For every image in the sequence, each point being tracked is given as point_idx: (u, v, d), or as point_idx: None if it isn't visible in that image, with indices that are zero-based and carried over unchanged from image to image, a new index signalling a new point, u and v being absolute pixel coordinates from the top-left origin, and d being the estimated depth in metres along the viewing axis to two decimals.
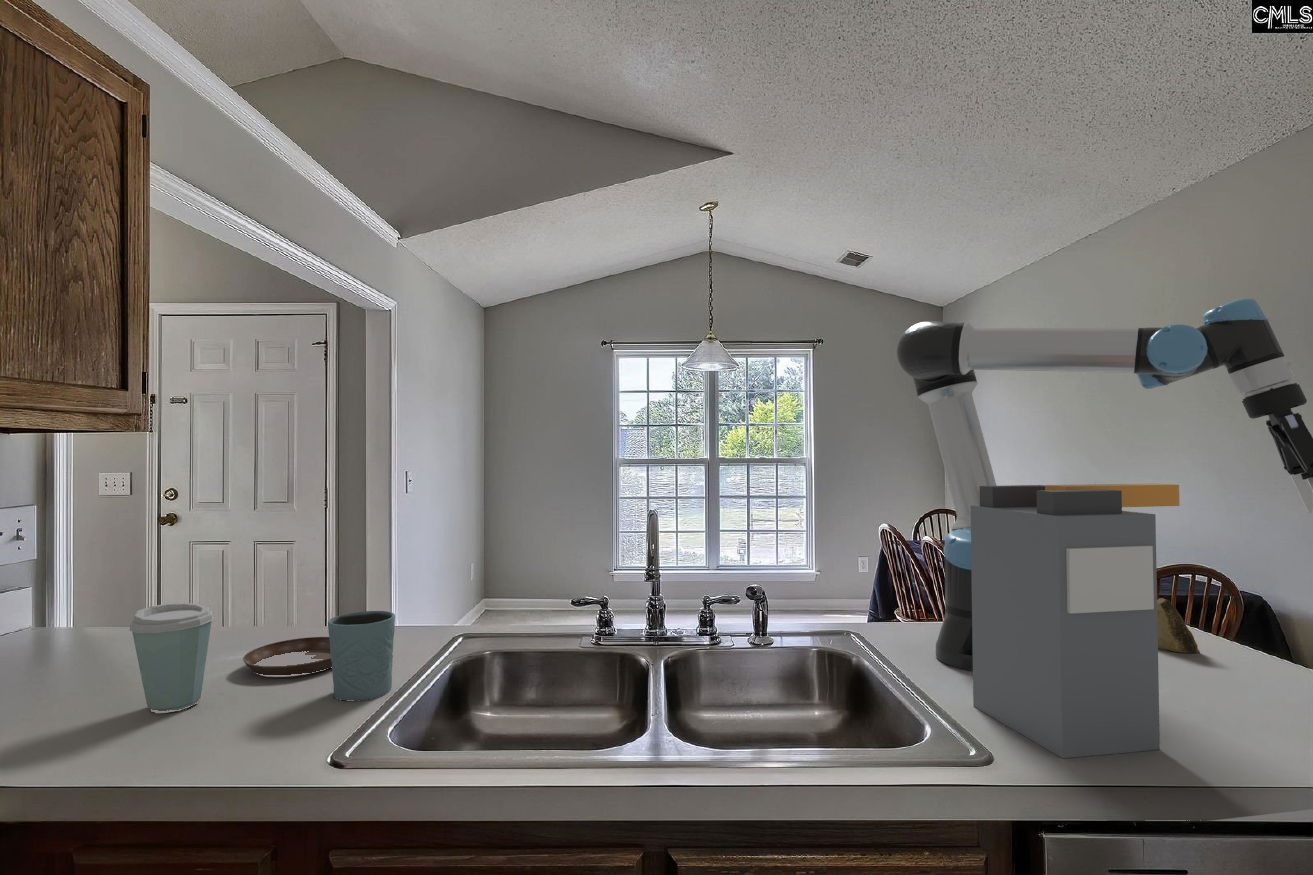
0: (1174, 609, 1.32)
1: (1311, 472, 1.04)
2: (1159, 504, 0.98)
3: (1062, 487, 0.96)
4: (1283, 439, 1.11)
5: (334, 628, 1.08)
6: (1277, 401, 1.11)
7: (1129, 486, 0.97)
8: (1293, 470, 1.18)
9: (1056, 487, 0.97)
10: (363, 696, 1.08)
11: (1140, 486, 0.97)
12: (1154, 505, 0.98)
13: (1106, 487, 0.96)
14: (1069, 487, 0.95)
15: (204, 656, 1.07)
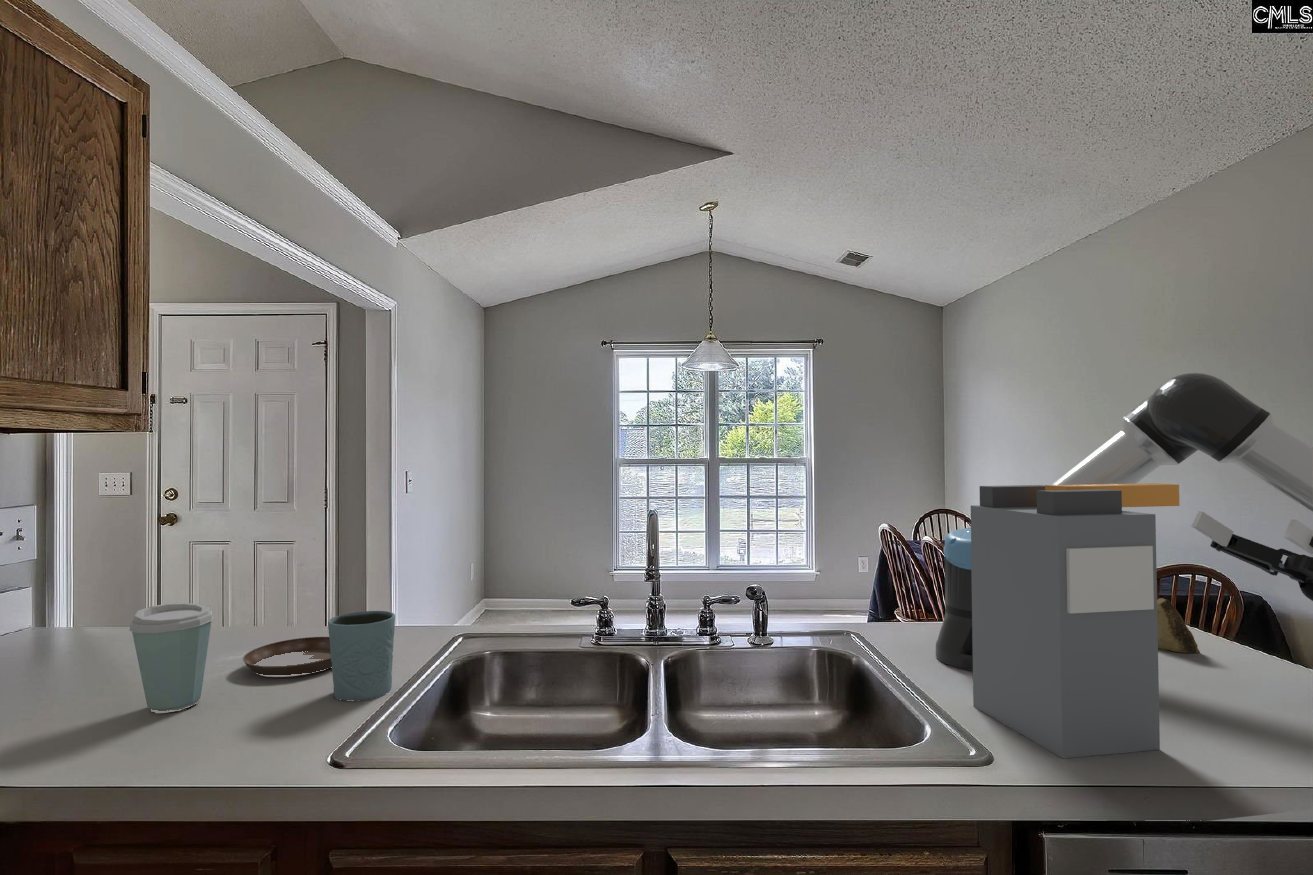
0: (1174, 609, 1.32)
1: None
2: (1159, 504, 0.98)
3: (1062, 487, 0.96)
4: None
5: (334, 628, 1.08)
6: None
7: (1129, 486, 0.97)
8: (1231, 537, 1.10)
9: (1056, 487, 0.97)
10: (363, 696, 1.08)
11: (1140, 486, 0.97)
12: (1154, 505, 0.98)
13: (1106, 487, 0.96)
14: (1069, 487, 0.95)
15: (204, 656, 1.07)
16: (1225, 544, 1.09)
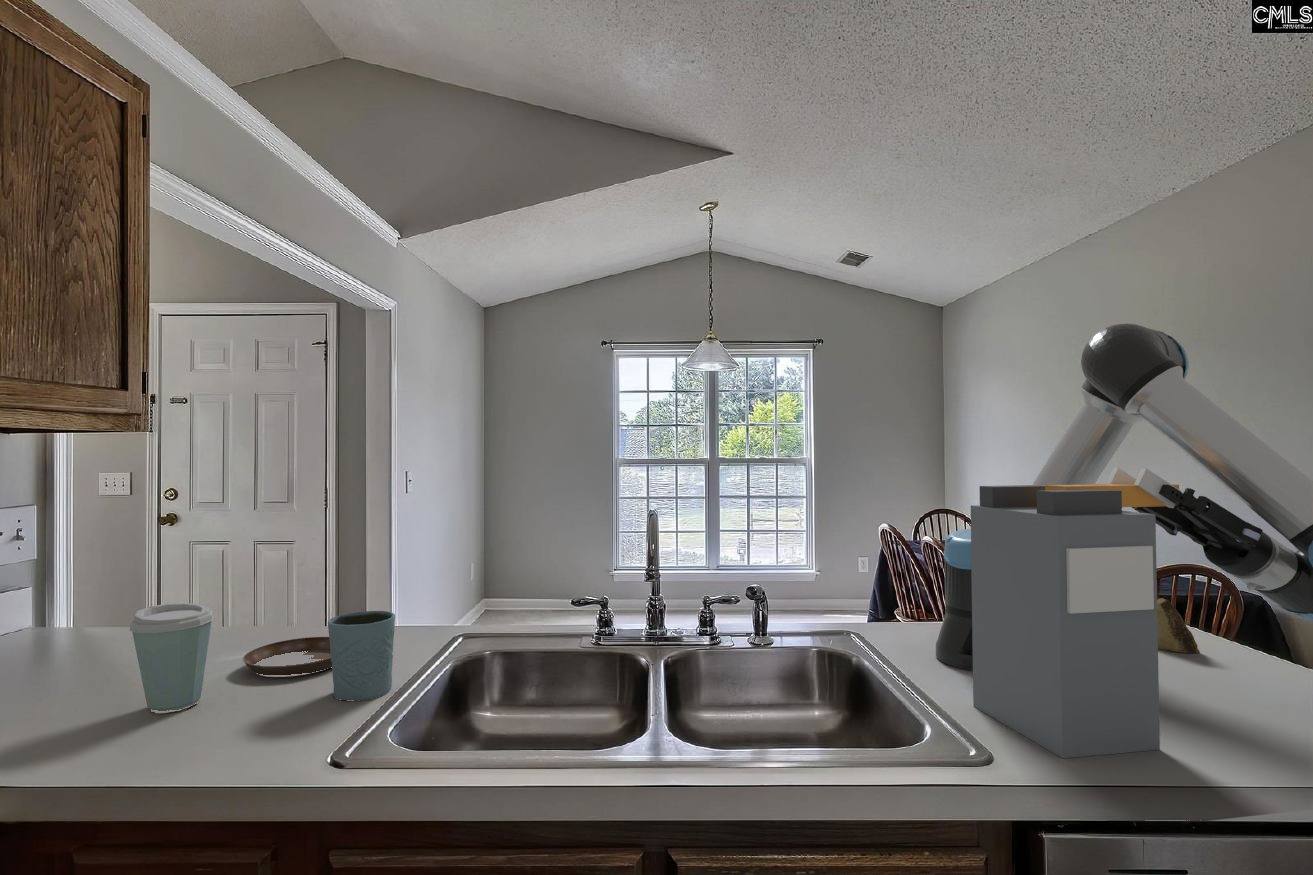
0: (1174, 609, 1.32)
1: (1202, 497, 0.95)
2: (1159, 504, 0.98)
3: (1062, 487, 0.96)
4: None
5: (334, 628, 1.08)
6: (1262, 549, 0.99)
7: (1129, 486, 0.97)
8: None
9: (1056, 487, 0.97)
10: (363, 696, 1.08)
11: None
12: (1154, 505, 0.98)
13: (1106, 487, 0.96)
14: (1069, 487, 0.95)
15: (205, 656, 1.07)
16: None
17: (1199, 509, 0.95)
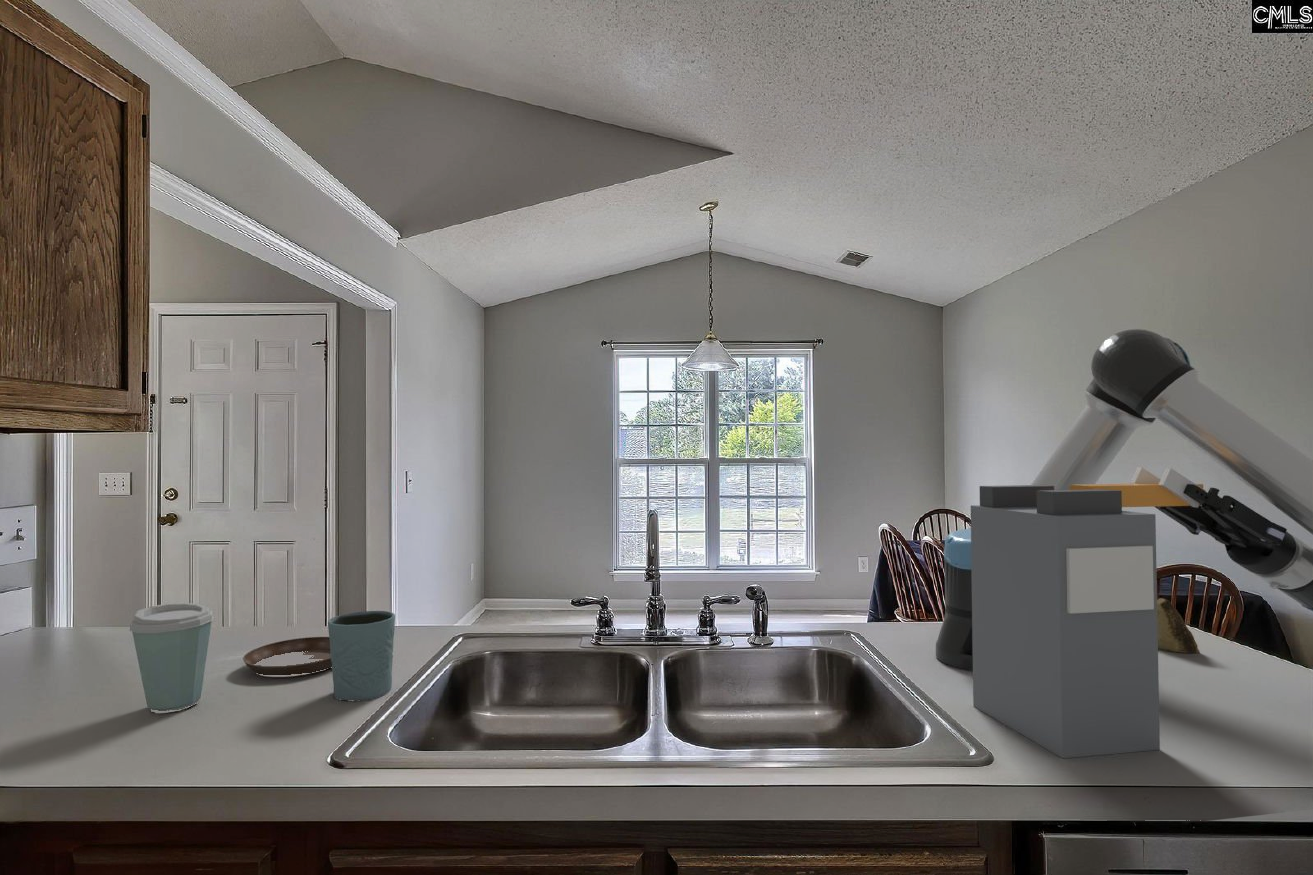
0: (1174, 609, 1.32)
1: (1227, 497, 0.96)
2: (1183, 503, 0.99)
3: (1087, 487, 0.97)
4: None
5: (334, 628, 1.08)
6: (1285, 548, 0.99)
7: (1154, 486, 0.98)
8: None
9: (1081, 487, 0.98)
10: (363, 696, 1.08)
11: None
12: (1178, 504, 0.98)
13: (1131, 487, 0.97)
14: (1094, 486, 0.96)
15: (205, 656, 1.07)
16: None
17: (1224, 508, 0.95)
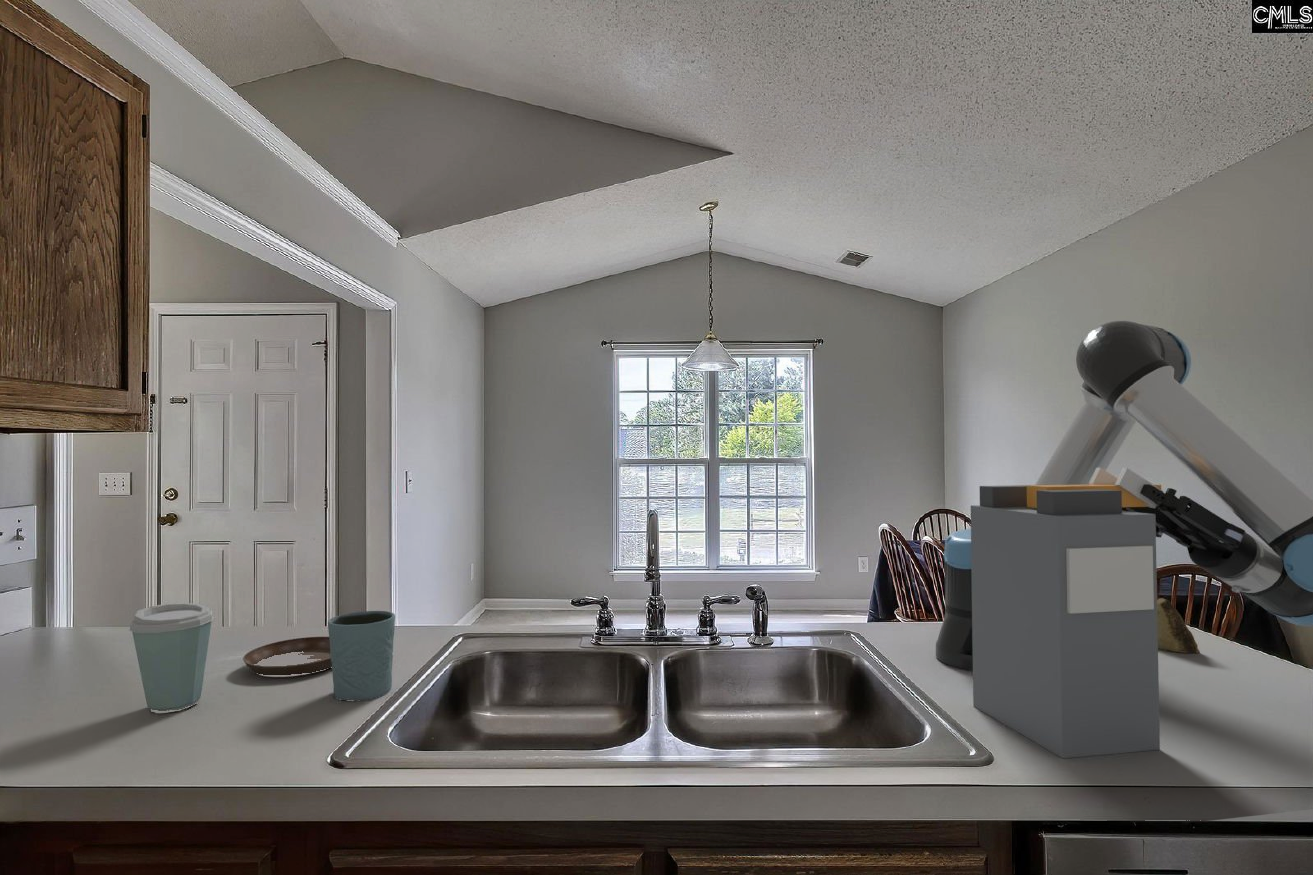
0: (1174, 609, 1.32)
1: (1183, 497, 0.95)
2: (1141, 504, 0.97)
3: (1043, 487, 0.96)
4: None
5: (334, 628, 1.08)
6: (1246, 551, 0.98)
7: (1111, 486, 0.97)
8: None
9: (1037, 487, 0.97)
10: (363, 696, 1.08)
11: None
12: (1136, 505, 0.97)
13: (1087, 487, 0.96)
14: (1050, 487, 0.95)
15: (205, 656, 1.07)
16: None
17: (1180, 509, 0.94)
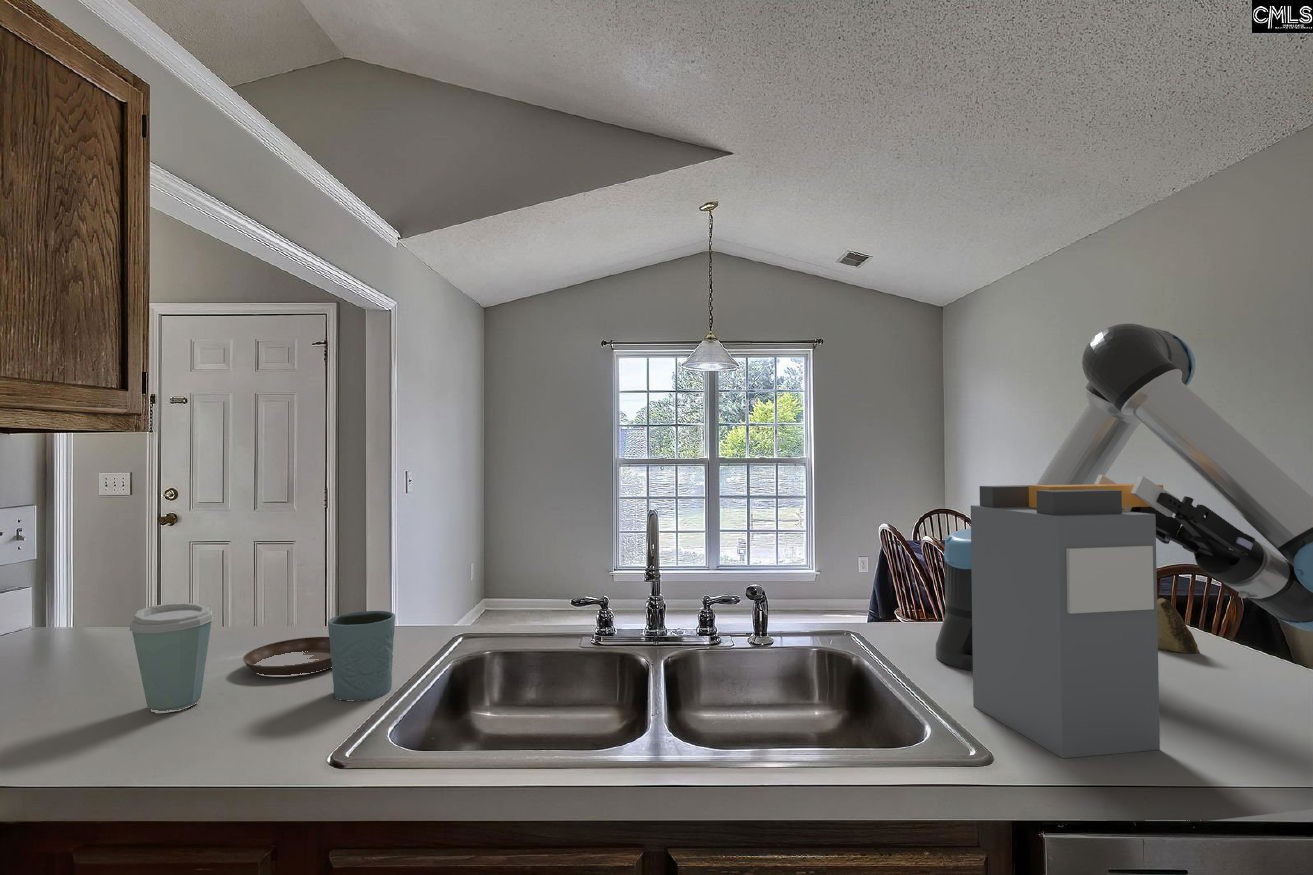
0: (1174, 609, 1.32)
1: (1201, 506, 0.93)
2: (1143, 504, 0.97)
3: (1045, 487, 0.96)
4: None
5: (334, 628, 1.08)
6: (1253, 557, 0.98)
7: (1113, 486, 0.97)
8: None
9: (1039, 487, 0.97)
10: (363, 696, 1.08)
11: (1124, 486, 0.97)
12: (1138, 505, 0.97)
13: (1090, 487, 0.96)
14: (1052, 487, 0.95)
15: (204, 656, 1.07)
16: (1127, 510, 1.03)
17: (1198, 518, 0.93)
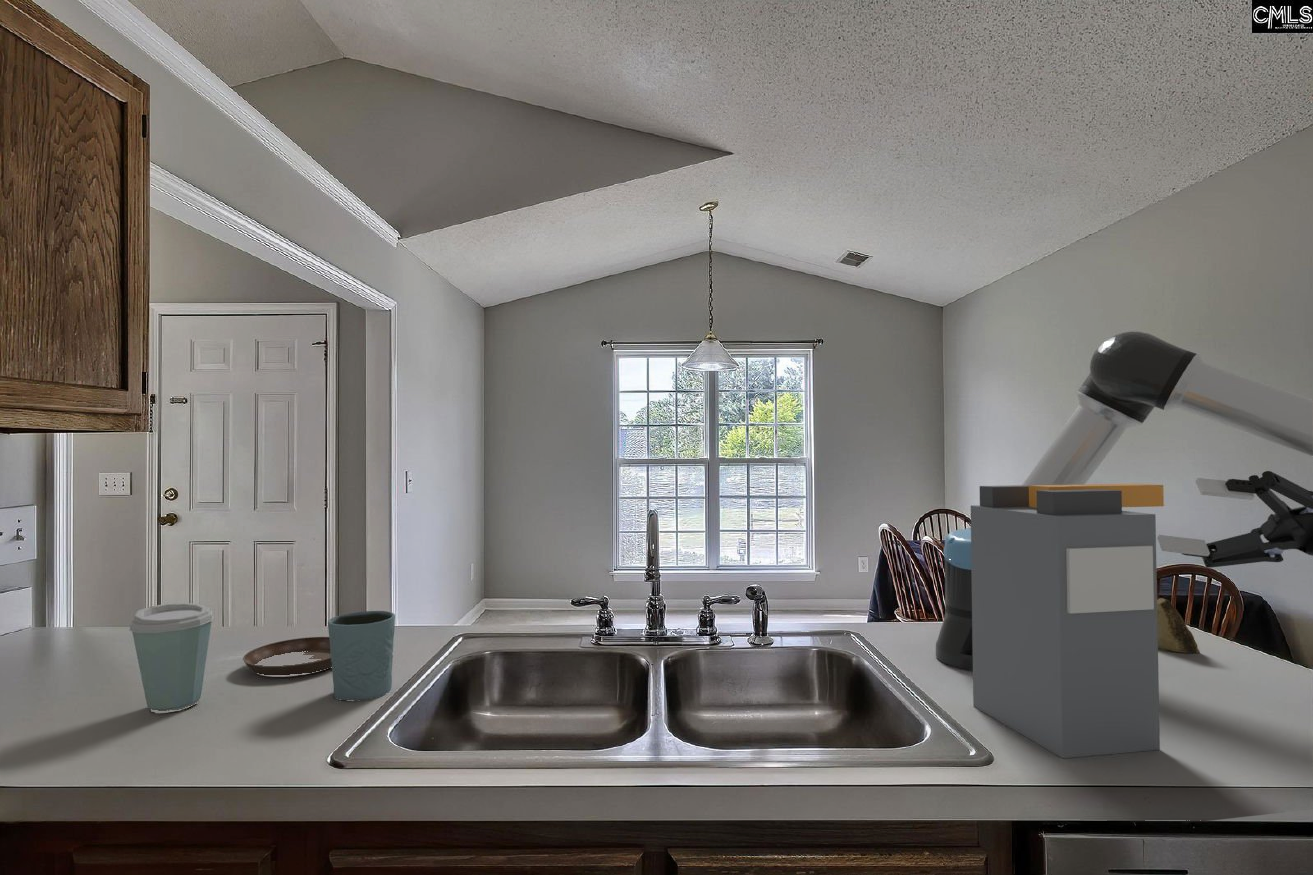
0: (1174, 609, 1.32)
1: (1266, 472, 1.00)
2: (1143, 504, 0.97)
3: (1045, 487, 0.96)
4: (1285, 504, 1.04)
5: (334, 628, 1.08)
6: None
7: (1113, 486, 0.97)
8: (1209, 546, 1.12)
9: (1039, 487, 0.97)
10: (363, 696, 1.08)
11: (1124, 486, 0.97)
12: (1138, 505, 0.97)
13: (1090, 487, 0.96)
14: (1052, 487, 0.95)
15: (205, 656, 1.07)
16: (1206, 552, 1.11)
17: (1273, 480, 0.99)
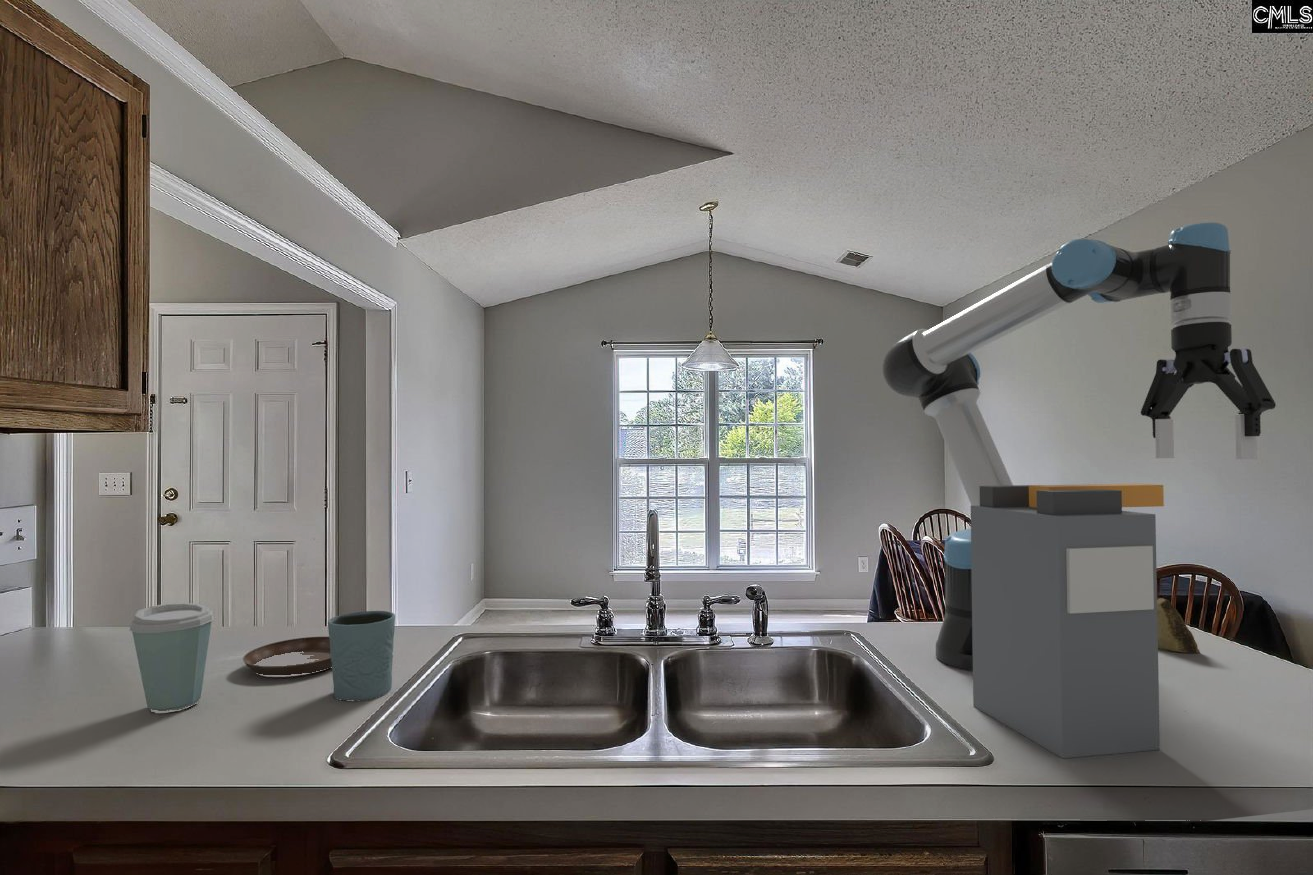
0: (1174, 609, 1.32)
1: None
2: (1143, 504, 0.97)
3: (1045, 487, 0.96)
4: None
5: (334, 628, 1.08)
6: None
7: (1113, 486, 0.97)
8: None
9: (1039, 487, 0.97)
10: (363, 696, 1.08)
11: (1124, 486, 0.97)
12: (1138, 505, 0.97)
13: (1090, 487, 0.96)
14: (1052, 487, 0.95)
15: (205, 656, 1.07)
16: None
17: None
